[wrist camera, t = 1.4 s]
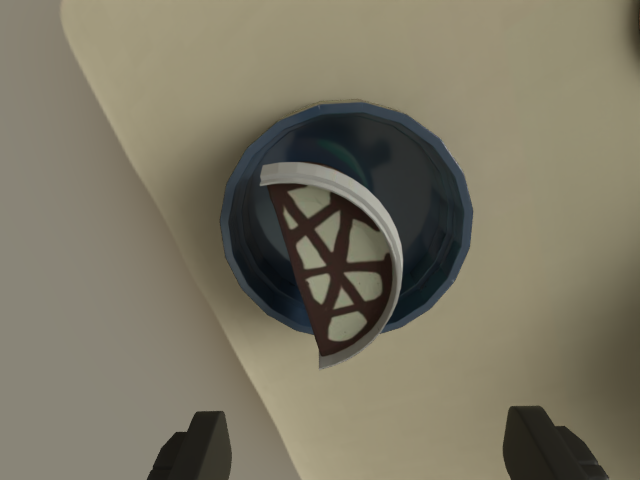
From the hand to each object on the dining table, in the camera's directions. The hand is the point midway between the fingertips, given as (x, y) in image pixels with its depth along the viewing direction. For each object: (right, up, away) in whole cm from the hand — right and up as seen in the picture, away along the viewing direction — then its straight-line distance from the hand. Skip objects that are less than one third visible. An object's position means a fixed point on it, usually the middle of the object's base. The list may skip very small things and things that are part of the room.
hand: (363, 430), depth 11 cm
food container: (+1, +8, +19) cm, 20 cm away
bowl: (+1, +8, +19) cm, 21 cm away
